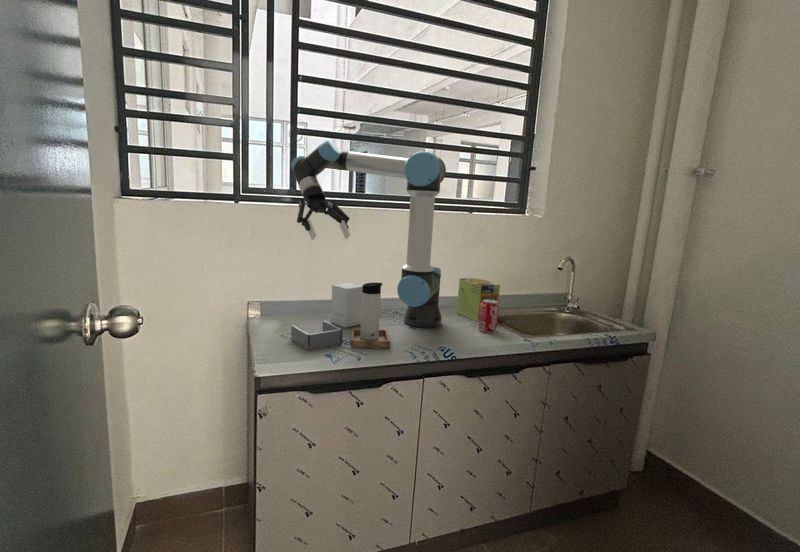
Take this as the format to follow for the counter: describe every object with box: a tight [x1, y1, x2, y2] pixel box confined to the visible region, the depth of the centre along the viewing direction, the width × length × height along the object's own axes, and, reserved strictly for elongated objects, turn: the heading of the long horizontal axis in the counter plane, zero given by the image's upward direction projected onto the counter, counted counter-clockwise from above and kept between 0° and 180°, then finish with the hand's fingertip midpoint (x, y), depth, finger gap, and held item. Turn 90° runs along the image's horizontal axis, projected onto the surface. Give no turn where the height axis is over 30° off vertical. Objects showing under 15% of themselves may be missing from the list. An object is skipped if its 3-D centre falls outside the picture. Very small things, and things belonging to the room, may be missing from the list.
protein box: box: [456, 277, 501, 323], centre depth 191 cm, size 10×15×16 cm
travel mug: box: [360, 282, 383, 340], centre depth 149 cm, size 6×7×20 cm
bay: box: [290, 320, 343, 351], centre depth 147 cm, size 12×13×5 cm
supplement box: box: [330, 282, 363, 328], centre depth 169 cm, size 9×9×15 cm
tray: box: [350, 328, 391, 350], centre depth 150 cm, size 13×13×2 cm
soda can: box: [478, 299, 500, 334], centre depth 170 cm, size 7×7×12 cm
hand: (331, 237), depth 155 cm, fingers open, 13 cm apart
